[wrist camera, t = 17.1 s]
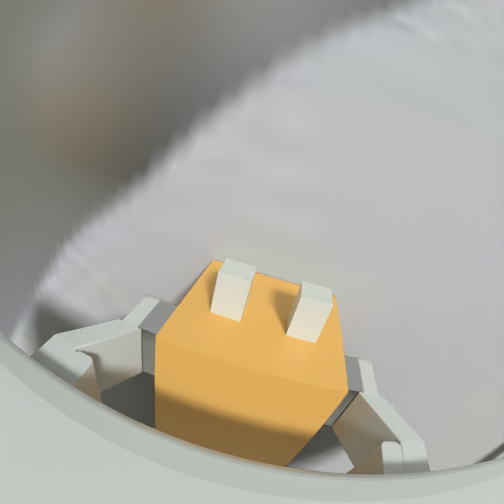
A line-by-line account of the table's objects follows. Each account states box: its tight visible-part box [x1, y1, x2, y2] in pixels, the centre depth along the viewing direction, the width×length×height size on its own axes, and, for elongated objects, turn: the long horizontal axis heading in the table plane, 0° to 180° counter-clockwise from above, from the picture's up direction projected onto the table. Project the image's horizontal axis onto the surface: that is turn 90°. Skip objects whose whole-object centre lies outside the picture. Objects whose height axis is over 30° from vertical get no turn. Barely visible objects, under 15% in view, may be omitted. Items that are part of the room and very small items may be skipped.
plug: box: [155, 258, 348, 467], centre depth 11 cm, size 21×4×4 cm, turn 166°
